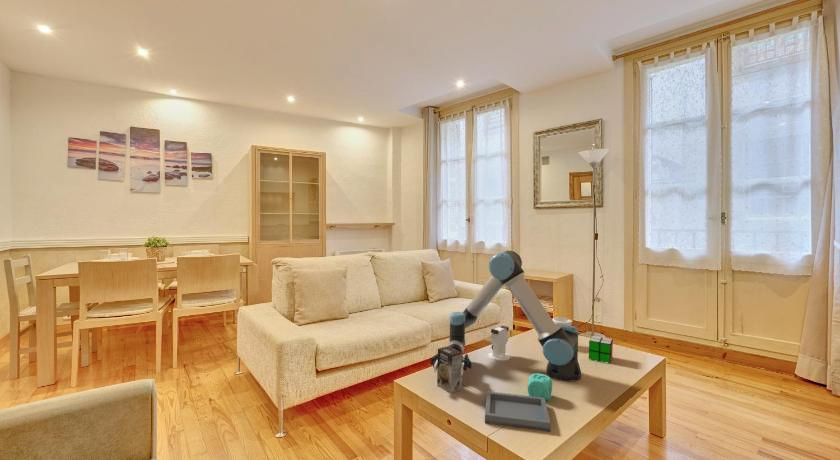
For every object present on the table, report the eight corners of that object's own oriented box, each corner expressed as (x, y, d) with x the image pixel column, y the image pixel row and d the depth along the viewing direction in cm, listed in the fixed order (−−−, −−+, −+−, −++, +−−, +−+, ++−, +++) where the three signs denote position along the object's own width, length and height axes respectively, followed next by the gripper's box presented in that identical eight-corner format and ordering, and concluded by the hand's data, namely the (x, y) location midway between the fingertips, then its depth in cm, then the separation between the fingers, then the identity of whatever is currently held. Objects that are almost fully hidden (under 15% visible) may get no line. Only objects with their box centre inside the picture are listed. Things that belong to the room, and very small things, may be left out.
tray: (544, 405, 145) (544, 397, 144) (550, 431, 127) (550, 423, 127) (486, 398, 149) (486, 391, 149) (484, 423, 132) (485, 414, 131)
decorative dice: (532, 390, 157) (532, 371, 157) (551, 395, 153) (552, 376, 153) (527, 398, 150) (527, 378, 150) (547, 403, 146) (548, 383, 146)
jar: (572, 349, 205) (573, 322, 204) (553, 348, 207) (553, 321, 206) (569, 343, 215) (569, 317, 215) (550, 341, 217) (551, 316, 217)
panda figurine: (496, 350, 202) (497, 323, 202) (515, 356, 195) (515, 327, 194) (483, 356, 194) (484, 327, 193) (502, 362, 186) (503, 332, 185)
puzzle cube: (612, 357, 194) (613, 338, 194) (610, 364, 186) (611, 344, 186) (591, 353, 200) (592, 335, 199) (588, 359, 191) (589, 340, 191)
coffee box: (436, 385, 160) (436, 348, 159) (447, 381, 164) (448, 345, 163) (450, 393, 153) (451, 355, 152) (462, 389, 157) (462, 351, 156)
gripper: (479, 361, 173) (476, 382, 152) (430, 357, 178) (420, 376, 157) (479, 345, 173) (476, 364, 151) (430, 341, 178) (421, 358, 156)
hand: (448, 370), depth 154 cm, fingers closed on coffee box, 10 cm apart
